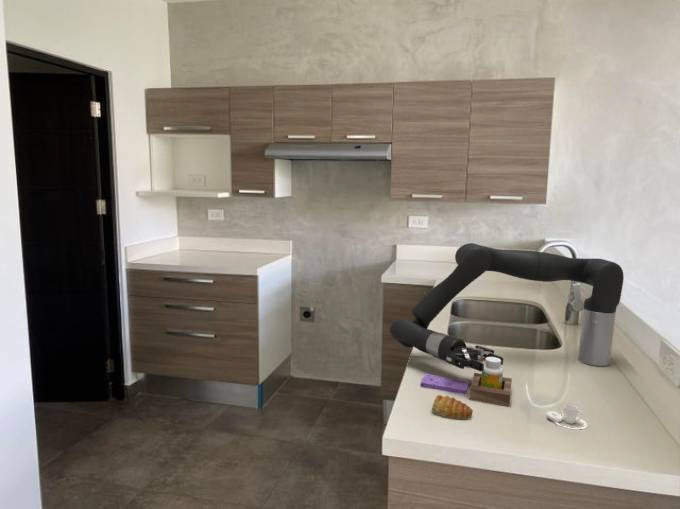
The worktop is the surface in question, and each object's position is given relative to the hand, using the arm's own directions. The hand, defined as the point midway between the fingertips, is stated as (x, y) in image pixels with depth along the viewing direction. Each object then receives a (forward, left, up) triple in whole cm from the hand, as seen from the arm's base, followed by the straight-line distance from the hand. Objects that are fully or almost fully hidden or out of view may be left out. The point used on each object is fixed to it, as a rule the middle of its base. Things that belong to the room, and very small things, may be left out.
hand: (493, 364), depth 137 cm
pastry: (+16, -9, -9) cm, 20 cm away
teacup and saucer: (+6, +17, -9) cm, 20 cm away
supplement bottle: (0, 0, -8) cm, 9 cm away
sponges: (-1, -12, -9) cm, 15 cm away
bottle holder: (0, 0, -8) cm, 8 cm away
